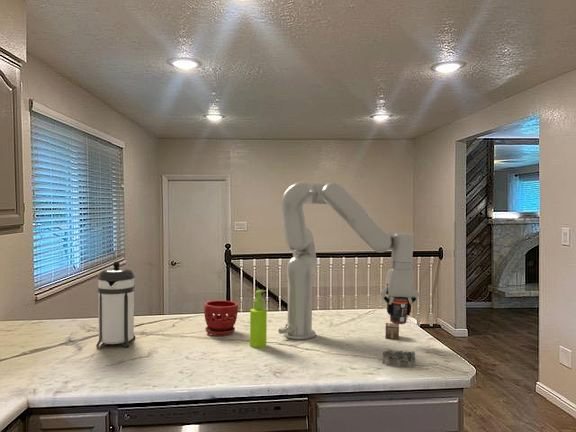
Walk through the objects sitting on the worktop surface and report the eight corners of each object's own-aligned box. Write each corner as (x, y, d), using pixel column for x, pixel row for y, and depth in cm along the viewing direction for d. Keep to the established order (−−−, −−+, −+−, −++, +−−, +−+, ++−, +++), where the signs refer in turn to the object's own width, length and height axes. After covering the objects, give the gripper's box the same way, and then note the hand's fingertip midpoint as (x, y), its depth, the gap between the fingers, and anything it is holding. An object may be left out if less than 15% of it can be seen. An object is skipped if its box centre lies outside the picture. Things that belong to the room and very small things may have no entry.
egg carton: (380, 366, 149) (381, 353, 148) (382, 358, 156) (383, 346, 156) (415, 369, 146) (415, 356, 146) (415, 361, 153) (415, 349, 153)
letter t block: (398, 340, 176) (399, 326, 176) (385, 338, 177) (385, 325, 177) (398, 336, 181) (398, 323, 181) (385, 335, 182) (385, 322, 182)
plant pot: (228, 339, 175) (229, 307, 174) (198, 335, 179) (198, 304, 178) (243, 330, 187) (243, 300, 187) (214, 327, 191) (214, 298, 191)
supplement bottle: (406, 325, 167) (408, 294, 167) (390, 323, 169) (391, 293, 168) (406, 321, 173) (407, 291, 173) (389, 319, 174) (391, 290, 174)
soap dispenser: (270, 343, 170) (270, 289, 169) (261, 349, 163) (262, 292, 163) (256, 341, 172) (256, 288, 171) (247, 346, 166) (247, 291, 165)
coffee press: (148, 343, 169) (148, 261, 168) (106, 353, 157) (105, 265, 156) (125, 333, 181) (125, 257, 180) (84, 342, 169) (84, 260, 168)
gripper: (419, 265, 175) (416, 312, 176) (375, 264, 173) (372, 311, 173) (428, 268, 168) (425, 317, 168) (382, 267, 165) (379, 317, 166)
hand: (398, 314), depth 171 cm, fingers closed on supplement bottle, 6 cm apart
